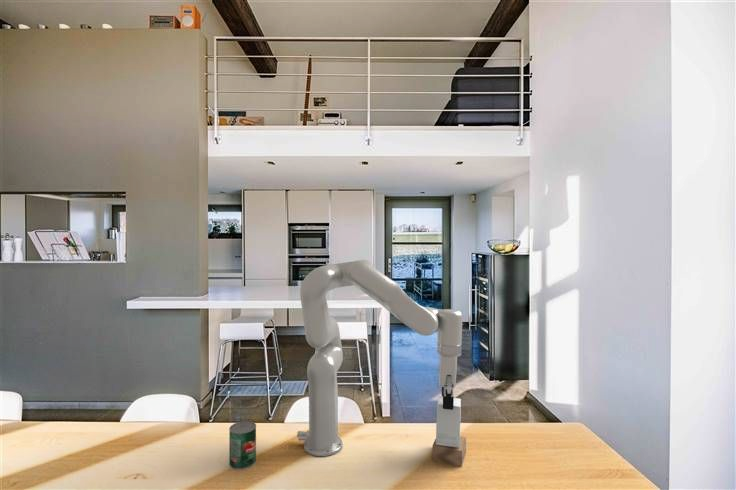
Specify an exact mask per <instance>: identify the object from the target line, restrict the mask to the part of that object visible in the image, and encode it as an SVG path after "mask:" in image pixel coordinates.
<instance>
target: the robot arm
mask: <svg viewBox="0 0 736 490" xmlns="http://www.w3.org/2000/svg"><path fill="white" fill-rule="evenodd" d="M352 286H355V288H357V289H358V290H360V291H361V292H363V293H364V294H366V295H367V296H369V297H370V298H371V299H372V300H374V301H375V302H377V303H378V304H379V305H381V306H382V307H383V308H384V309H386V311H388V312H389V313H390V314H391V315H393V317H394V318H396V319H397V320H399V321H400V322H401V323H403V324H404V325H405V326H407V327H409V329H411V330H412V331H414V332H415V333H416V334H419V335H421V336H424V337H428V336H432V335H434V334H435V333H436V332H437V342H436V343H437V345H436V353H437V354H438V355H439V367H438V369H439V370H438V371H439V372H438V386H439V388H441V397H443V409H449V410H453V404H454V398H455V397H454V389H455V388H456V383H457V372H458V371H457V369H458V357H461V356H462V345H463V344H462V343H463V341H462V339H463V338H462V337H463V314H462V312H461V311H460V310H458V309H457V310H456V309H450V308H447V309H446V308H445V309H440V308H435V307H429V306H423V305H420V304H419V303H418V302H416V301H414V299H412V298H411V297H410V296H408V294H407V293H406V292H405V290H403V289H402V287H401V285H399V284H398V283H397V282H395V281H394V280H392V279H391V278H390V277H388V276H387V275H385V274H384V273H382V272H381V271H380V270H378V269H377V268H375V266H374V265H373V262H372V263H371V261H369V260H366V259H359V260H354V261H348V262H347V261H346V262H337V263H332V264H326V265H321V266H319V267H317V268H315V269H313V270H311V271H310V272H309V273H308V274H307V275H306V276H304V279H303V281H302V282H301V284H300V289H299V292H300V294H299V296H300V298H299V299H300V303H301V304H300V305H301V311H302V317H303V325H304V333H305V340H306V341H307V343H308V345H310V347H312V348H314V349H315V353H314V354H313V355H312V356H311V358H310V359H309V361H308V363H307V367H306V368H307V369H306V374H307V381H308V382H307V383H308V423H309V424H308V430H307V431H303V430H297V432H296V433H297V434H296V436H297V437H296V438H298V441H304V444H303V449H304V450H305V452H306V453H307V454H309V455H312V456H315V457H327V456H332V455H334V454H336V453H338V452H340V451H341V450H342V448H343V440H342V438H341V437H339V392H338V390H339V386H338V377H337V375H338V371H339V370H340V368H341V366H342V363H343V360H344V359H343V358H344V354H343V353H344V352H343V346H342V339H341V338H342V337H341V333H340V328H339V324H338V322H337V320H336V318H334V316H332V315H330V313H329V305H328V301H327V297H326V295H327V293H328V292H330V291H332V290H335V289H338V288H342V287H352Z"/></svg>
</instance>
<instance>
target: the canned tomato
mask: <svg viewBox="0 0 736 490" xmlns="http://www.w3.org/2000/svg"><path fill="white" fill-rule="evenodd" d="M228 430H229V436H228V437H229V445H228V447H229V452H228V453H229V456H228V457H229V462H228V463H229V464H228V466H229V468H230V469H232V470H240V471H241V470H242V471H243V470H246V469H249V468H251V467H253V466H254V465H255V464H256V463H257V424H256V423H255V422H254V421H249V420H244V421H243V420H242V421H238V422H236V423H233V424H231V425H230V426H229V429H228Z"/></svg>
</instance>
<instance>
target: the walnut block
mask: <svg viewBox="0 0 736 490" xmlns="http://www.w3.org/2000/svg"><path fill="white" fill-rule="evenodd" d="M466 453H467V437H466V436H461V435H460V446H459V448H457V447H449V446H443V445H437V444H436V438H435V439H434V442H433V443H432V461H433V462H437V463H438V462H439V463H442V464H447V465H452V466H457V467H463V465H464V464H463V463H464V460H465V457H466Z"/></svg>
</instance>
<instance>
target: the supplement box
mask: <svg viewBox="0 0 736 490" xmlns="http://www.w3.org/2000/svg"><path fill="white" fill-rule="evenodd" d="M461 401H462V399H461V398H457V397H454V404H453V410H449V409H443V397H442V396H438V397H437V402H436V425H435V428H436V429H435V432H436V433H435V439H436V444H437V445H443V446H449V447H457V448H459V446H460V436H461V415H462V414H461V413H462V412H461V411H462V409H461V407H462V402H461Z"/></svg>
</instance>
